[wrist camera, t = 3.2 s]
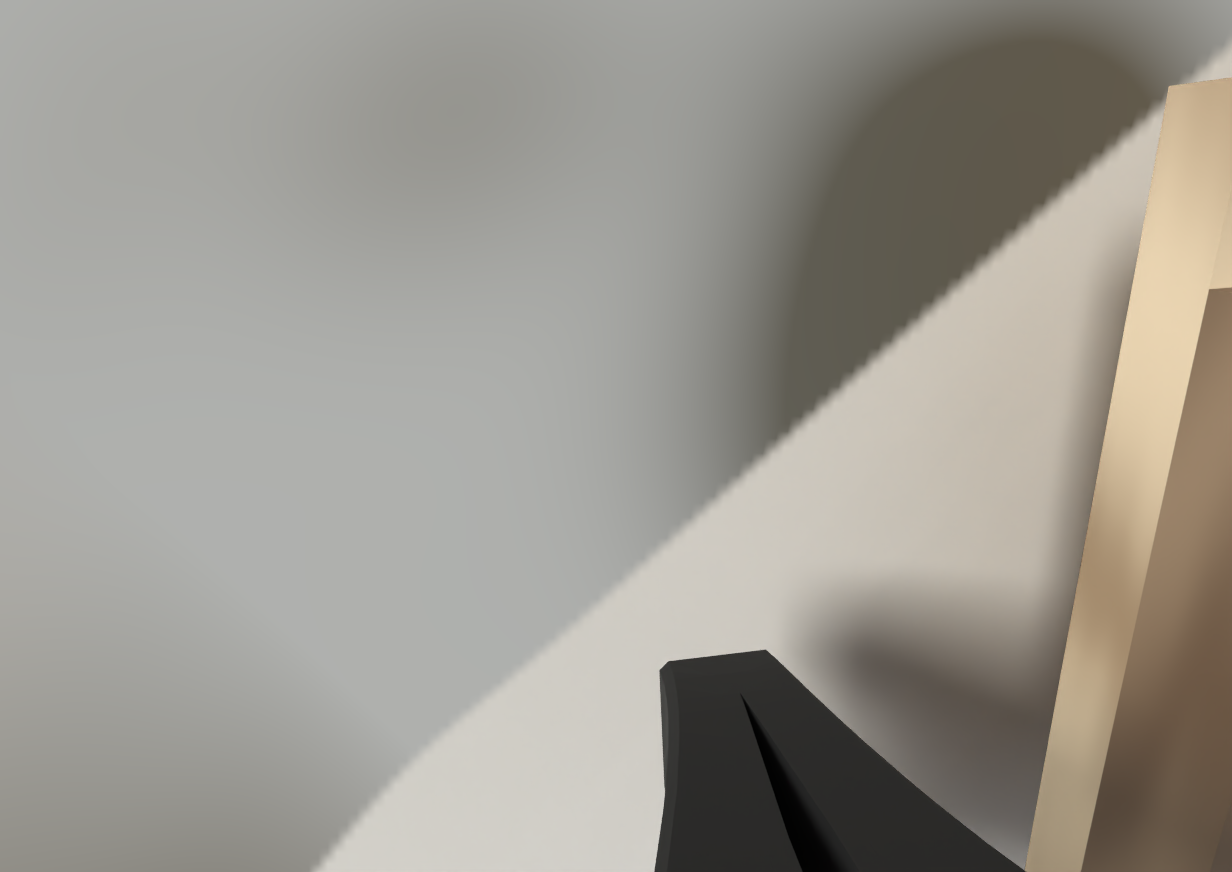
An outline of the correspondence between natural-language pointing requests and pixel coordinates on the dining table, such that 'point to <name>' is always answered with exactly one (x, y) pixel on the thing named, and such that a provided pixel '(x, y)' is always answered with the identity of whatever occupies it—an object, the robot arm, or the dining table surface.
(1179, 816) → the lid
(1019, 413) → the dining table surface
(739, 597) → the dining table surface
